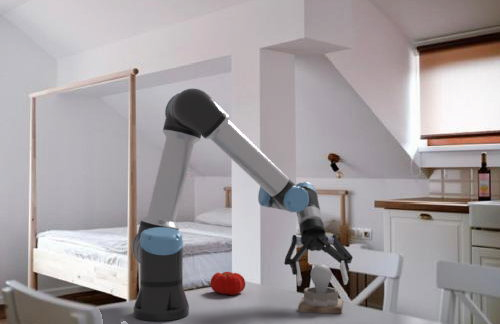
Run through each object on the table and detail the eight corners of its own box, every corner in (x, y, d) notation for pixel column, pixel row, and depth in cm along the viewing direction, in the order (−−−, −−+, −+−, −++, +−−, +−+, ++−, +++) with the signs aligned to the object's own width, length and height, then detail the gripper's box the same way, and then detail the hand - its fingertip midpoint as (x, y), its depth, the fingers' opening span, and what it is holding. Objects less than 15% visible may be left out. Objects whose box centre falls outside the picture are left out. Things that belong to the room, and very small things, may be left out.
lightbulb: (331, 305, 173) (330, 266, 173) (309, 304, 174) (309, 265, 174) (332, 300, 179) (332, 262, 179) (311, 299, 180) (311, 262, 180)
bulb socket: (298, 311, 172) (298, 293, 172) (302, 301, 183) (302, 285, 183) (341, 313, 169) (341, 295, 169) (342, 303, 181) (342, 286, 181)
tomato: (225, 288, 203) (225, 269, 203) (250, 293, 196) (250, 273, 196) (204, 293, 196) (204, 273, 196) (229, 298, 188) (229, 277, 188)
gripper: (347, 231, 193) (362, 288, 178) (270, 232, 190) (278, 291, 175) (352, 216, 188) (368, 273, 173) (272, 217, 185) (282, 276, 170)
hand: (323, 282), depth 174 cm, fingers open, 13 cm apart
